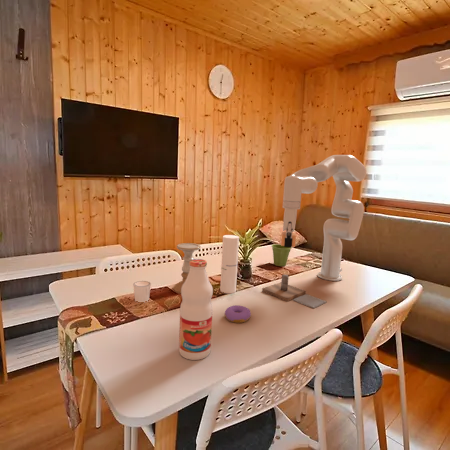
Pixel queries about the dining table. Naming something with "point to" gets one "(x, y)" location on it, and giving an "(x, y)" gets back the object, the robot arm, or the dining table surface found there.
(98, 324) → the dining table surface
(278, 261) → the plant pot
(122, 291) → the dining table surface
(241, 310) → the donut
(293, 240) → the orange bevelled cube
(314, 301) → the rubber pad
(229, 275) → the cylindrical container
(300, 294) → the post stand
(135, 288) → the shot glass
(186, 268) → the candle holder
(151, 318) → the dining table surface
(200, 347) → the fruit juice
